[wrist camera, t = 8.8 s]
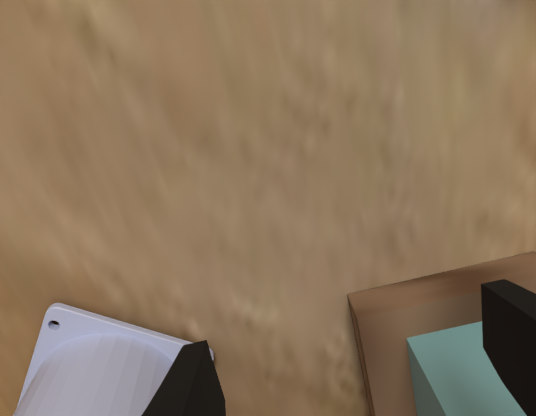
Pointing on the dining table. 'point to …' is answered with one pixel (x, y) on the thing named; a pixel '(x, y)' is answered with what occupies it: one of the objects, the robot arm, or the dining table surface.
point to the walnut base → (420, 322)
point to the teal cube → (457, 375)
